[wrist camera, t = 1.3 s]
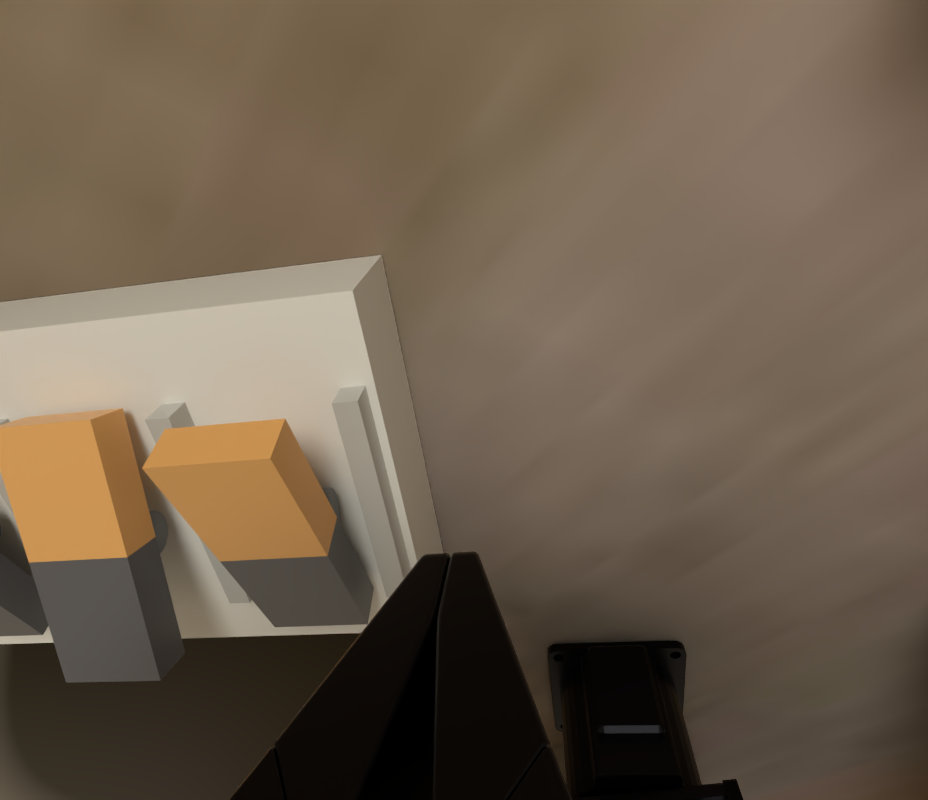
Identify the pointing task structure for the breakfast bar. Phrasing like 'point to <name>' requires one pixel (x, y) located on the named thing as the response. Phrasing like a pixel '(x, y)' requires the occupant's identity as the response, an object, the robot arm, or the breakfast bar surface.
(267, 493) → the rocker
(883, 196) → the breakfast bar surface
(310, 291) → the switch box
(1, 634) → the block
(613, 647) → the robot arm
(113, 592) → the block
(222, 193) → the breakfast bar surface
